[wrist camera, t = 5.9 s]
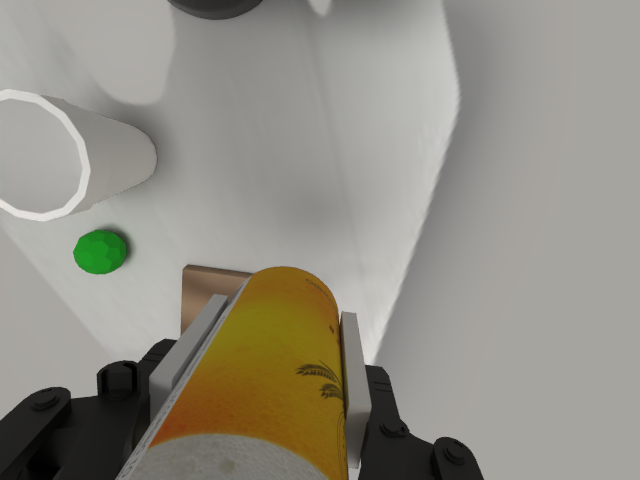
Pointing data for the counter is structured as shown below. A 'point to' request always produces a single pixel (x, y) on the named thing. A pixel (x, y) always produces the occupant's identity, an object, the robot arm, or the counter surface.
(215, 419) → the beer can
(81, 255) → the polyhedron
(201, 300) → the pin board
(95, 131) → the foam cup
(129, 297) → the counter surface
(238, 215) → the counter surface
